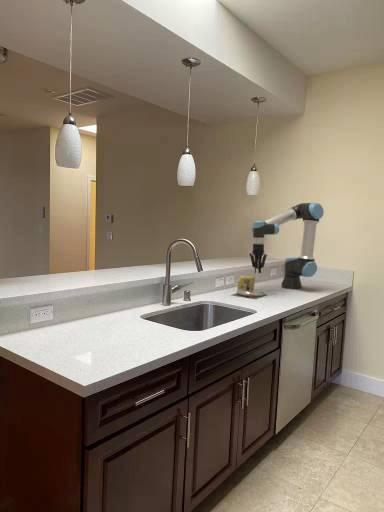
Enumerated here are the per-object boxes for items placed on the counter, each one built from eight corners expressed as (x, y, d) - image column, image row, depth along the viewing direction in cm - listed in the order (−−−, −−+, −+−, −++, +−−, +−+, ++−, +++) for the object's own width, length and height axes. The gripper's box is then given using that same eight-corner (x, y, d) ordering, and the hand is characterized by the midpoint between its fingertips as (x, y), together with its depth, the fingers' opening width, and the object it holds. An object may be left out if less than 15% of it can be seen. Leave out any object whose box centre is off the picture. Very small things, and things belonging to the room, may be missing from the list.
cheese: (237, 290, 279) (237, 277, 278) (241, 288, 289) (241, 275, 288) (251, 292, 276) (252, 278, 275) (254, 289, 286) (255, 276, 285)
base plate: (244, 291, 276) (244, 290, 276) (267, 295, 266) (267, 293, 266) (230, 295, 261) (231, 294, 261) (255, 299, 251) (255, 297, 251)
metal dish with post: (231, 292, 266) (231, 279, 265) (250, 290, 276) (251, 278, 275) (249, 297, 251) (249, 283, 251) (269, 295, 261) (269, 281, 261)
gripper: (247, 243, 266) (246, 277, 268) (264, 244, 258) (264, 279, 261) (252, 242, 272) (251, 276, 274) (269, 243, 264) (268, 277, 267)
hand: (257, 277), depth 268 cm, fingers closed
